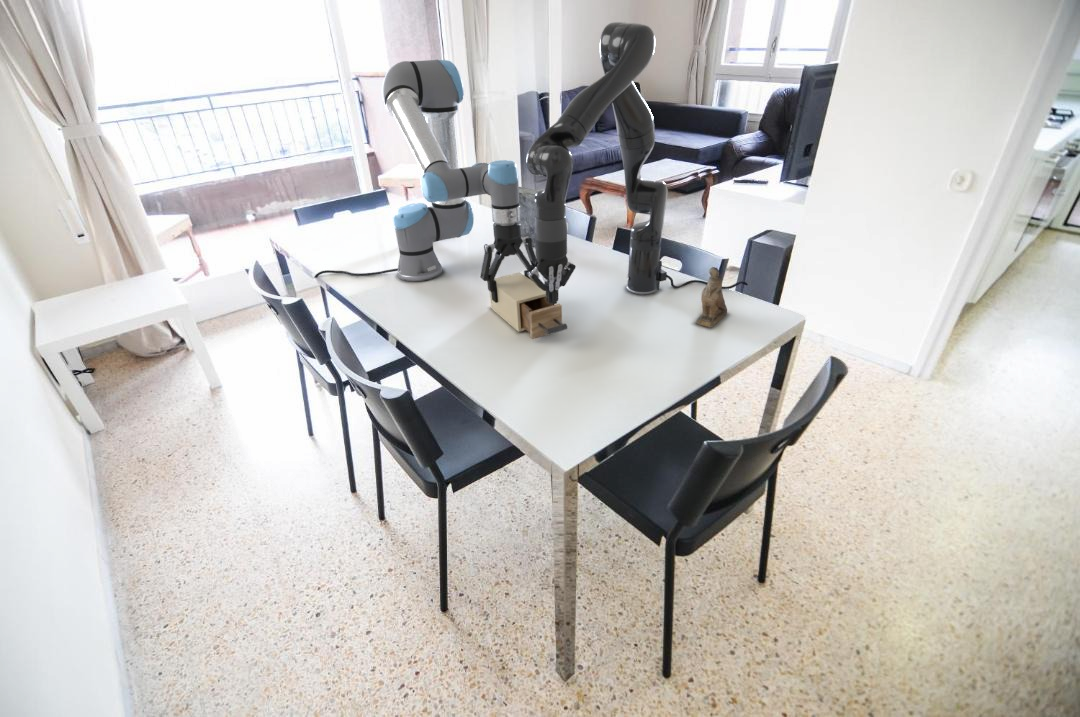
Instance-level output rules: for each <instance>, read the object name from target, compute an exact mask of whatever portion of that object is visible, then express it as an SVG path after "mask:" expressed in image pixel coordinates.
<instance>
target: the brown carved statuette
mask: <svg viewBox="0 0 1080 717" xmlns="http://www.w3.org/2000/svg"><path fill="white" fill-rule="evenodd" d="M708 273H709V275H710V276H709V278H708V279H707V280H708V281H707V282H708V284H707V285H706V286H705V287H704V288H703V290H702V292H701V297H700V298H701V309H702V312H701V315H700V316H699V317H698V318H697V319H696V321H695V324H696V325H699V326H703V327H705V328H712V327H714V326H715V325H716V324H717V323H719V321H721V320H722V319H723V318H725V317H726V316H727V315H728V307H727V304H726V301H725V298H724V293H723V289H721V288H722V287H723V281H722V279H721V278H720V270H719V269H718V268H717V267H715V266H712V267H711V268H710V269H709V270H708Z"/></svg>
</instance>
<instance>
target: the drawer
mask: <svg viewBox="0 0 1080 717" xmlns="http://www.w3.org/2000/svg"><path fill="white" fill-rule="evenodd" d="M519 306H520V321H521V326H522V327H523V328H525V329H526V330H525V331H527V332H528V333H529V335H530V338H531V339H532V340H534V339H537V338H540V337H543V336H550V335H552V334H557V333H559V332H563V331H566V330H568V325H567V323H563V314H562V313H563V309H562V308H563V307H562V306H563V305H562V304H561V303H557V304H553V305H551V304H549V303H548V302H547V301H546V297H541V298H538V299H534V300H530V301H526V302H523V303H519Z"/></svg>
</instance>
